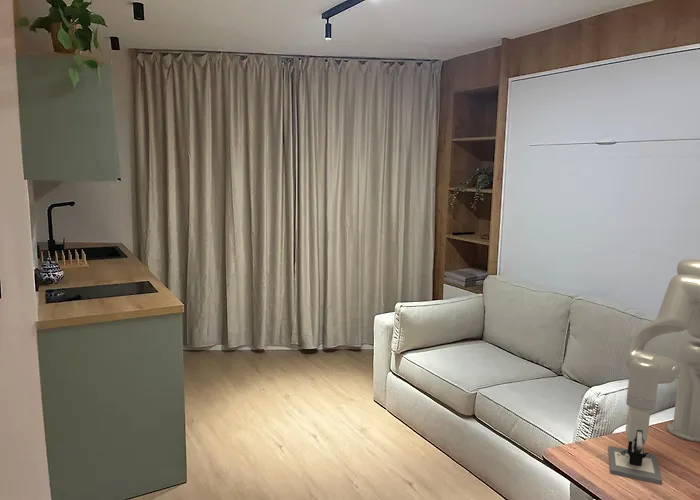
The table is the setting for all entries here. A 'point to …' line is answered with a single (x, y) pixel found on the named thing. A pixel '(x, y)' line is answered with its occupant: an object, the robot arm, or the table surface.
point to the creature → (629, 453)
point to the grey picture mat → (644, 472)
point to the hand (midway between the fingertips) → (634, 458)
